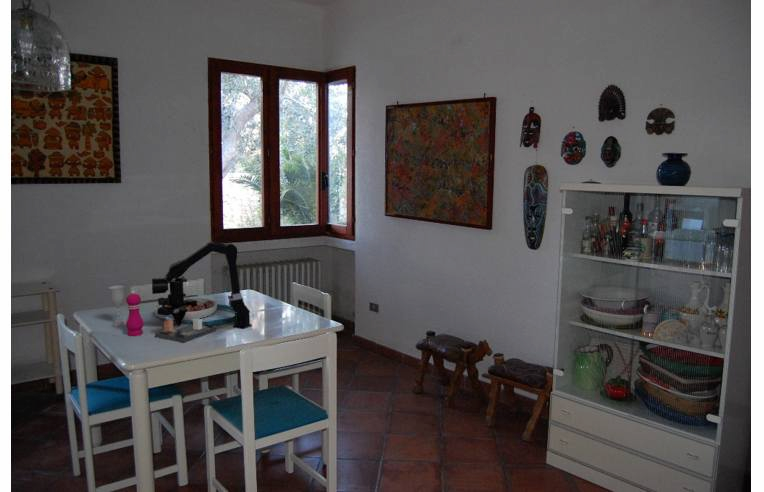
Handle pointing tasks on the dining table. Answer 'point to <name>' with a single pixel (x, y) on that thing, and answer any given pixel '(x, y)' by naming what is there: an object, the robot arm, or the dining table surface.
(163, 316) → the bowl
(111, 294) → the chalice
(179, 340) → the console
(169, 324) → the block
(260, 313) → the dining table surface
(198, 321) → the fader
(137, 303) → the pepper mill
